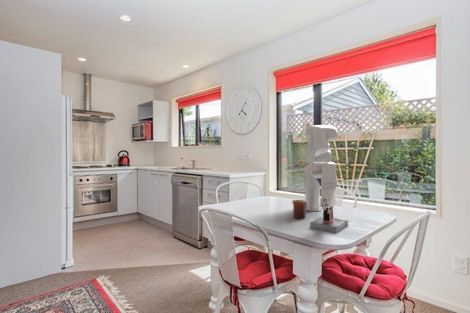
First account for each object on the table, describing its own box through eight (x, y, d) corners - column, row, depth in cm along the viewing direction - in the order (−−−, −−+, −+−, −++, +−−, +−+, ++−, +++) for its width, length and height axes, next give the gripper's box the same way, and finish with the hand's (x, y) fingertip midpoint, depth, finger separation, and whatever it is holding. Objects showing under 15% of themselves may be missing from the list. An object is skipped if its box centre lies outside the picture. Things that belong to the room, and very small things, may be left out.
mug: (301, 220, 161) (301, 203, 161) (289, 217, 167) (289, 201, 167) (312, 217, 169) (312, 200, 169) (299, 214, 175) (300, 198, 175)
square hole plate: (310, 227, 145) (310, 222, 145) (320, 222, 156) (320, 217, 156) (336, 232, 136) (336, 226, 136) (345, 227, 147) (345, 221, 147)
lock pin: (323, 227, 146) (323, 209, 146) (325, 226, 149) (325, 208, 148) (329, 228, 144) (329, 210, 144) (331, 227, 147) (331, 208, 146)
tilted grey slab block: (328, 223, 155) (328, 217, 154) (330, 222, 157) (330, 216, 157) (346, 227, 148) (346, 220, 148) (348, 225, 151) (348, 219, 151)
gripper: (327, 183, 155) (326, 215, 155) (315, 186, 142) (315, 221, 142) (340, 184, 150) (340, 218, 150) (329, 187, 137) (329, 224, 137)
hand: (328, 219), depth 146 cm, fingers open, 4 cm apart
